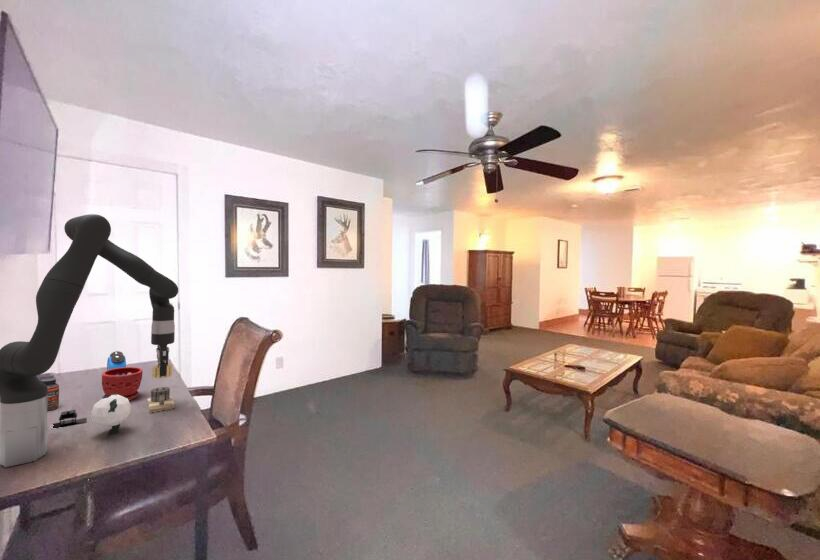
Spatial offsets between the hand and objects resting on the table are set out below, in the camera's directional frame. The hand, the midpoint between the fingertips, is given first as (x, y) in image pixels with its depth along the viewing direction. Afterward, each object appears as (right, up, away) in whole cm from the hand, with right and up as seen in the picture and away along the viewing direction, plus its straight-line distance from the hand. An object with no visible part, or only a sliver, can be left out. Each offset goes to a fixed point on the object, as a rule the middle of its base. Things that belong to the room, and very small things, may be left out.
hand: (162, 373), depth 139 cm
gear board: (-3, -14, +3) cm, 14 cm away
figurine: (-2, -14, -21) cm, 26 cm away
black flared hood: (-22, -14, -16) cm, 30 cm away
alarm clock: (-38, -12, +24) cm, 47 cm away
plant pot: (-22, -13, +8) cm, 27 cm away
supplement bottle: (-40, -12, -5) cm, 43 cm away
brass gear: (0, -1, 0) cm, 1 cm away
